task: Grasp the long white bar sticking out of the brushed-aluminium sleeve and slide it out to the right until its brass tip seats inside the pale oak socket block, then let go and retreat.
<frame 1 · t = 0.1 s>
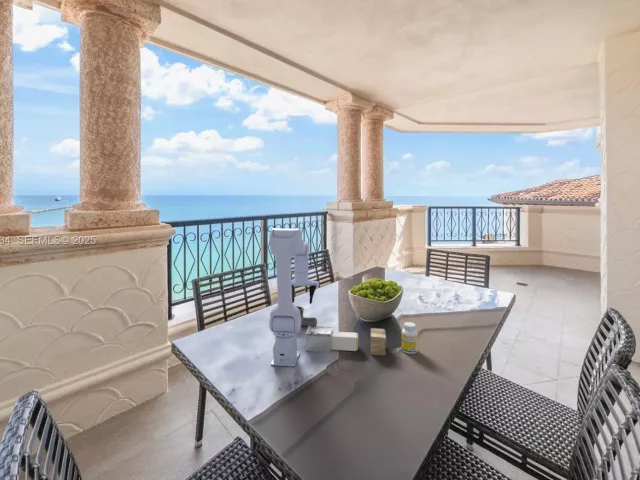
hand: (301, 302, 135), 10 cm above the table, tool pointing down, fingers open, 7 cm apart
socket: (377, 350, 114), on the table
pipe: (301, 326, 136), on the table
sleeve: (320, 347, 117), on the table
supplement bottle: (409, 351, 114), on the table
long white bar: (334, 340, 116), point 3 cm above the table, slide at 0.0 cm
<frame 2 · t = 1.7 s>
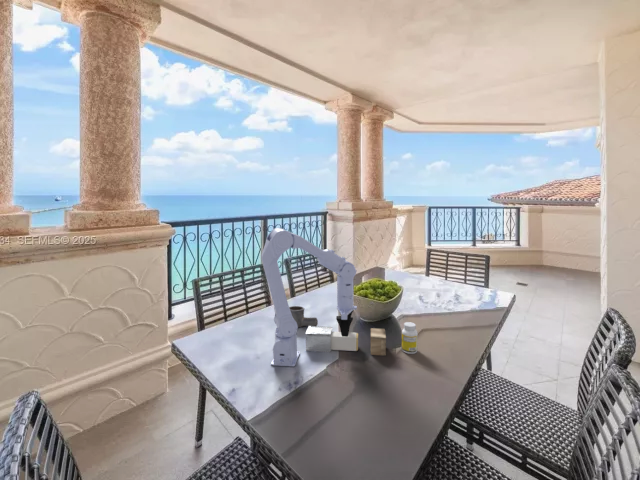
hand: (345, 331, 115), 6 cm above the table, tool pointing down, fingers open, 7 cm apart
nothing on the table moved.
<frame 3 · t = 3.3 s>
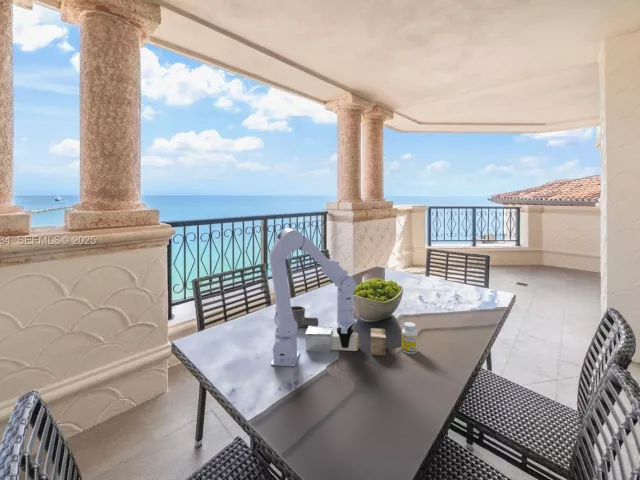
hand: (345, 344, 116), 2 cm above the table, tool pointing down, fingers closed on long white bar, 4 cm apart
long white bar: (334, 340, 116), point 3 cm above the table, slide at 0.0 cm, touching gripper
everything else where it was.
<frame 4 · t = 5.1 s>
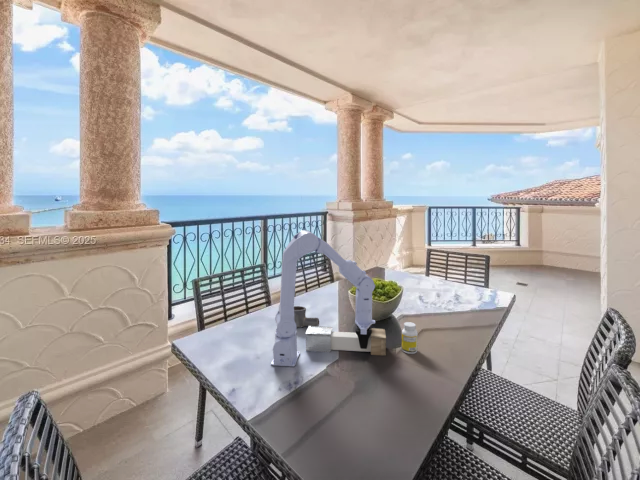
hand: (363, 345, 115), 2 cm above the table, tool pointing down, fingers closed on long white bar, 4 cm apart
long white bar: (352, 341, 115), point 3 cm above the table, slide at 6.4 cm, touching gripper
everything else where it was.
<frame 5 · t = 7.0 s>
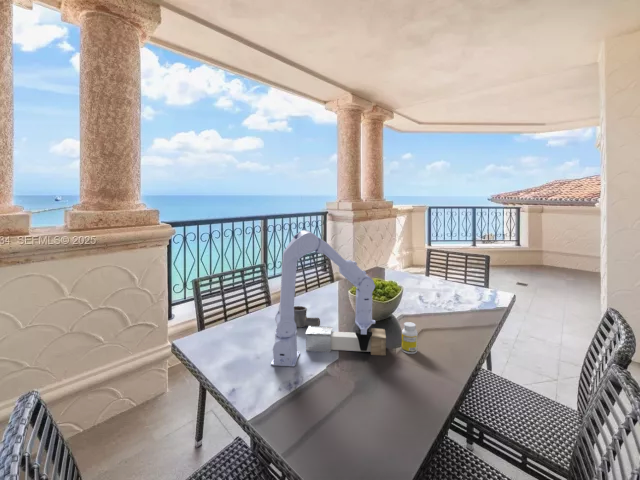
hand: (363, 345, 115), 2 cm above the table, tool pointing down, fingers open, 7 cm apart
long white bar: (352, 341, 115), point 3 cm above the table, slide at 6.4 cm
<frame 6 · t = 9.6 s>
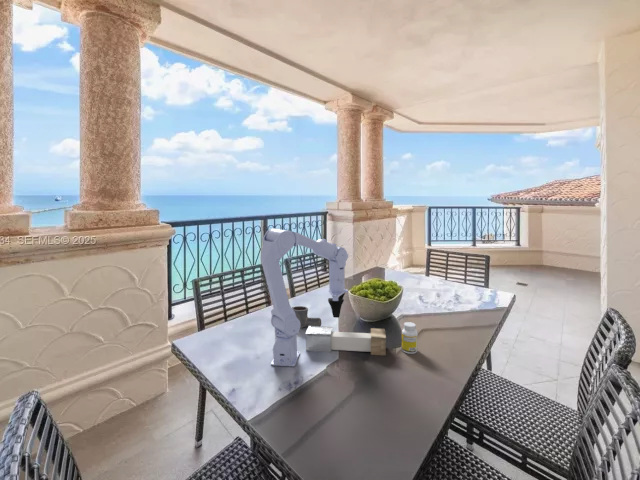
hand: (337, 313, 122), 10 cm above the table, tool pointing down, fingers open, 7 cm apart
at the end: long white bar slide at 6.4 cm; the gripper is holding nothing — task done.
